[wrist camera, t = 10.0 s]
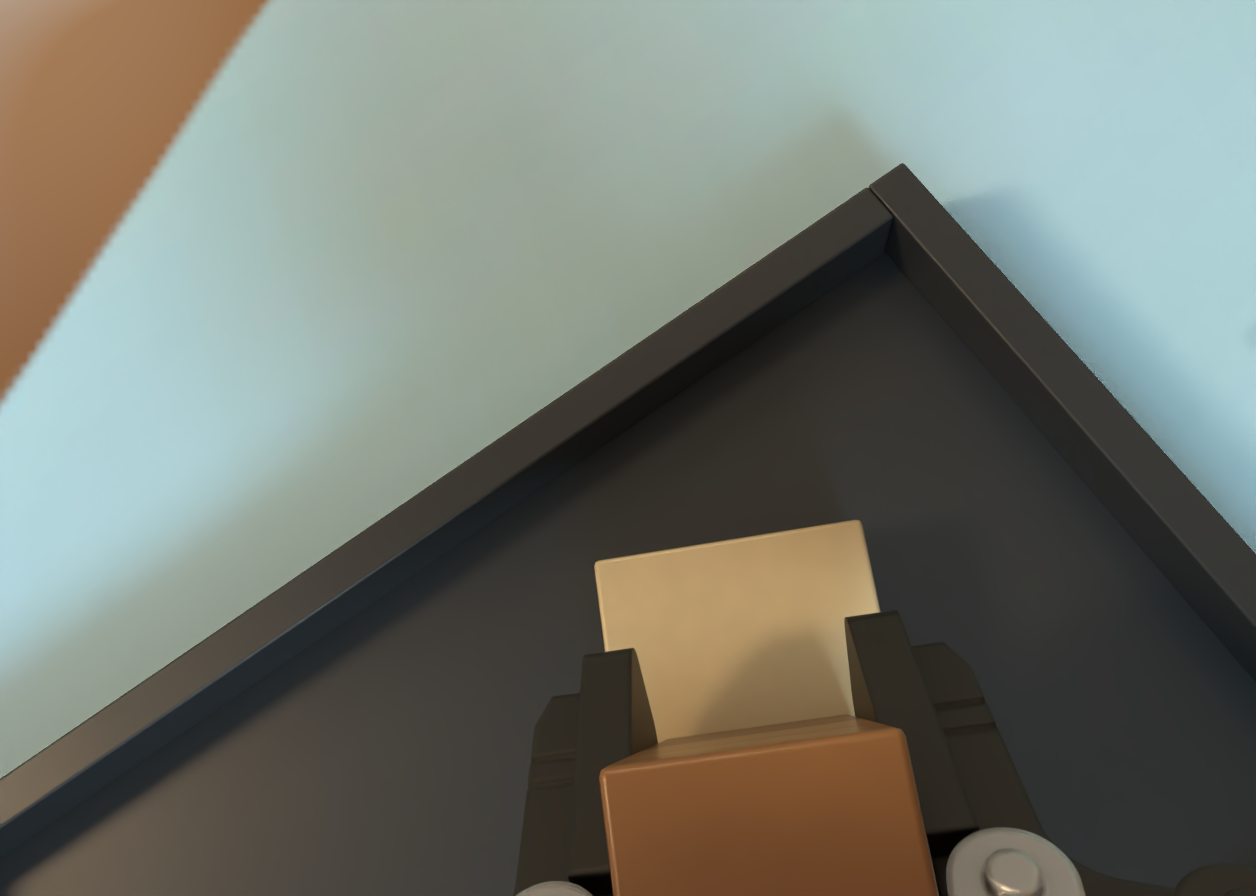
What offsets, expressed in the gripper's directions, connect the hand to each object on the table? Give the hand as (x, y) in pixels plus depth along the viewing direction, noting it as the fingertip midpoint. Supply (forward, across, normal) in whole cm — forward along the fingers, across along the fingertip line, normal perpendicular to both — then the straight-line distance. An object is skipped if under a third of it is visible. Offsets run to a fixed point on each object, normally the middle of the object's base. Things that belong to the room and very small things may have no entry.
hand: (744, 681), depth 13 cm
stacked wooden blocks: (+1, 0, +4) cm, 4 cm away
